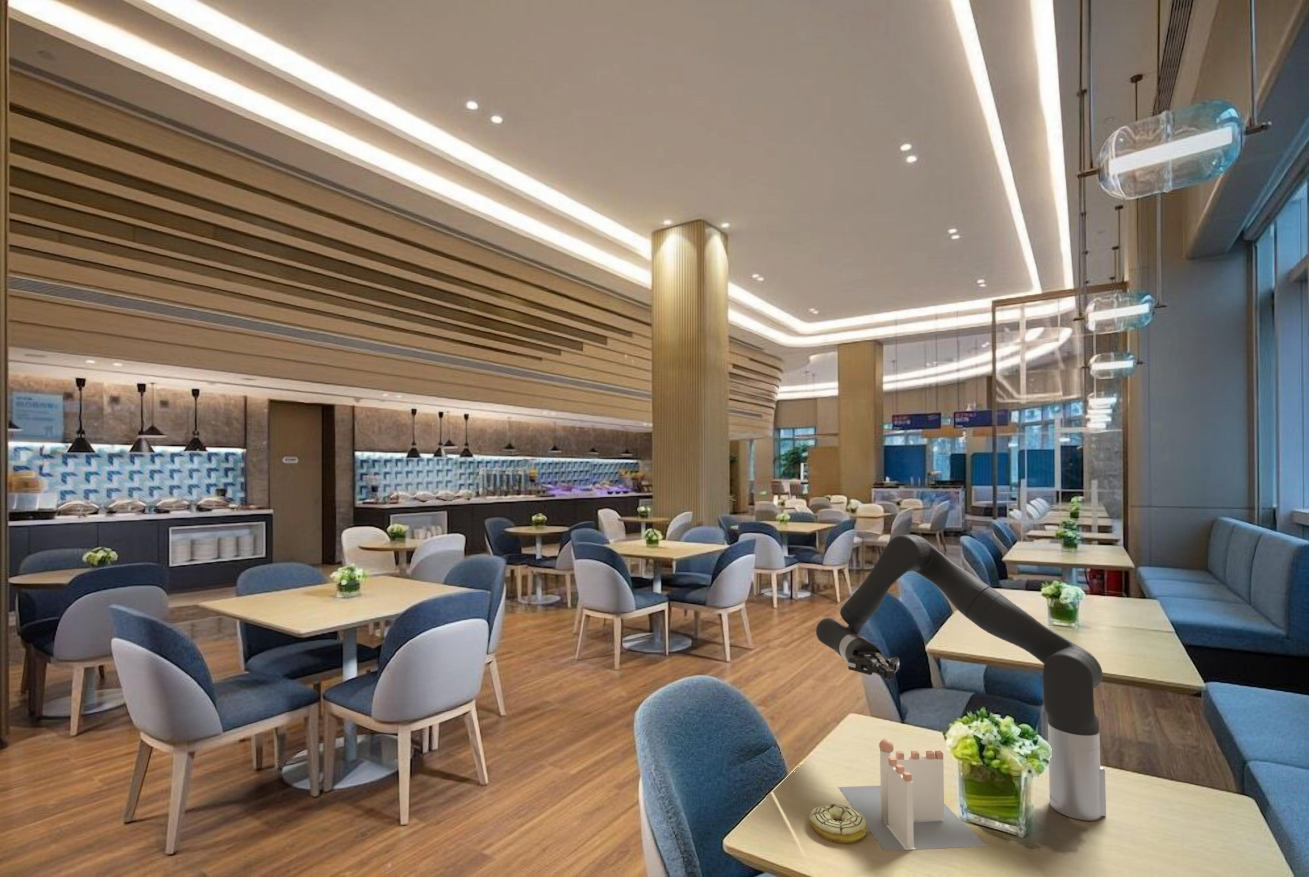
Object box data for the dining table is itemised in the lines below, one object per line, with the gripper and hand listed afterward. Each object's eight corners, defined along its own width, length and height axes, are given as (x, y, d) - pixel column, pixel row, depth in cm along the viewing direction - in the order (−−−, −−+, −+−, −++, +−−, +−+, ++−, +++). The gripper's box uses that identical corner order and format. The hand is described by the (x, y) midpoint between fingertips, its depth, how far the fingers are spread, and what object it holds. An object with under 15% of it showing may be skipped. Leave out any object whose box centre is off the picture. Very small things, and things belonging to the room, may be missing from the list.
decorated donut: (833, 812, 136) (833, 794, 136) (877, 836, 127) (877, 816, 128) (799, 828, 130) (799, 809, 130) (843, 854, 121) (843, 834, 121)
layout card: (924, 786, 147) (924, 783, 147) (986, 848, 123) (986, 845, 123) (838, 789, 145) (838, 786, 145) (884, 853, 121) (884, 850, 121)
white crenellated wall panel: (897, 819, 131) (896, 753, 132) (894, 816, 132) (894, 750, 133) (944, 819, 131) (943, 753, 132) (941, 816, 132) (940, 750, 133)
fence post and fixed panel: (890, 816, 133) (889, 736, 134) (917, 848, 122) (916, 761, 122) (877, 816, 133) (876, 736, 134) (903, 849, 122) (902, 761, 122)
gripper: (833, 638, 161) (861, 659, 144) (884, 636, 162) (918, 657, 145) (833, 668, 161) (861, 693, 143) (885, 667, 162) (919, 691, 144)
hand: (890, 675), depth 144 cm, fingers closed
